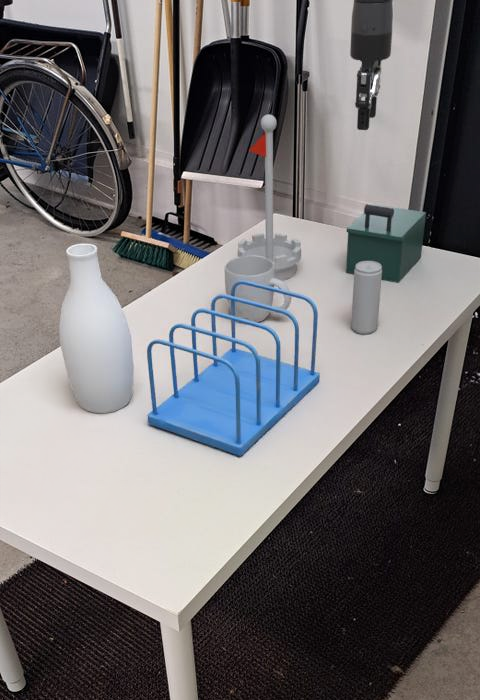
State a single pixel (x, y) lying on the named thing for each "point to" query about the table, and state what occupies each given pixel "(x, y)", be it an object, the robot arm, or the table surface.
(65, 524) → the table surface
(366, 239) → the box
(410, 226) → the lid
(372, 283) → the beverage can
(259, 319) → the mug
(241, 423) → the file sorter
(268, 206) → the flag stand
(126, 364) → the bottle
